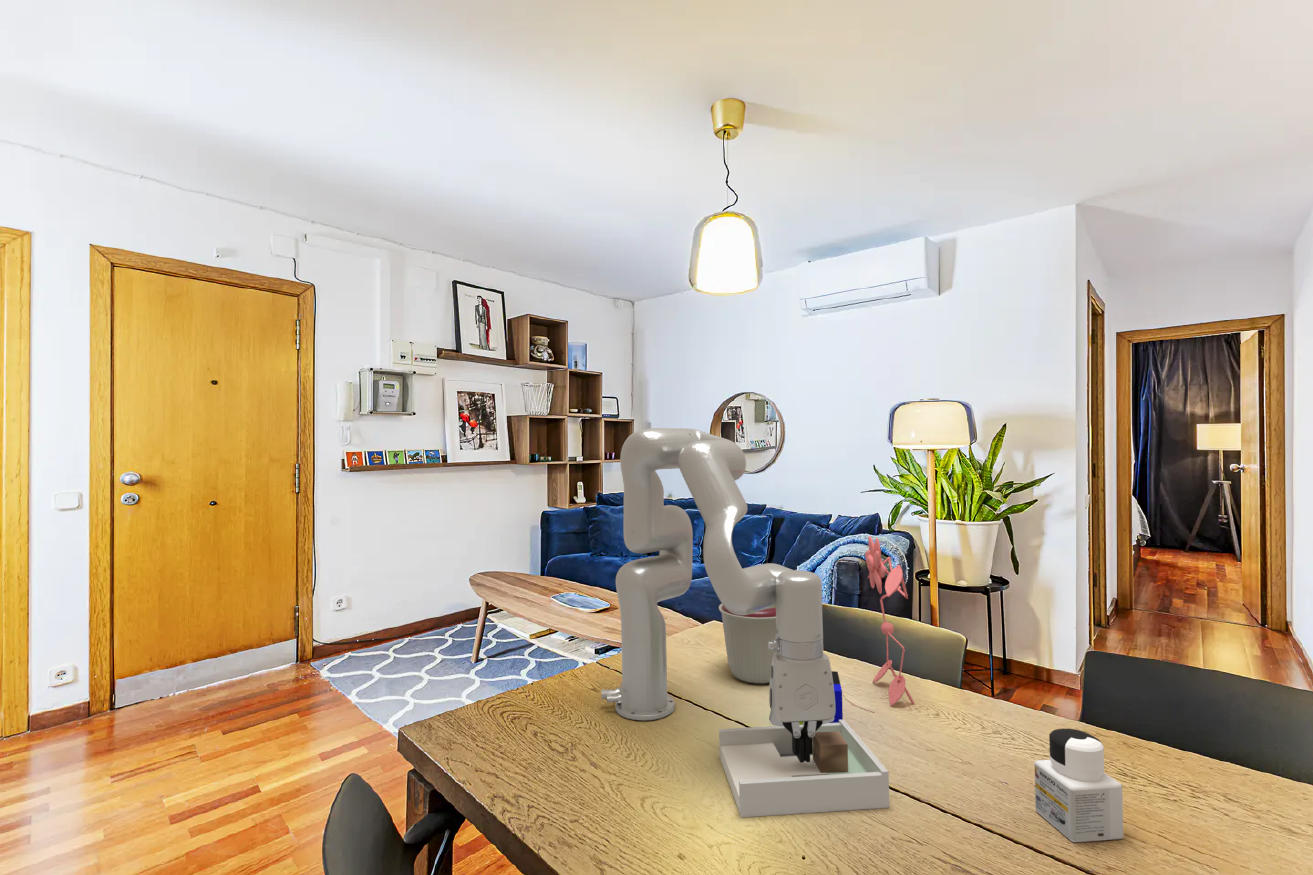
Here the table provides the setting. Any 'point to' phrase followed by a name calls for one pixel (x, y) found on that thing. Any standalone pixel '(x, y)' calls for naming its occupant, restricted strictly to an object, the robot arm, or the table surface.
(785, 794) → the tray
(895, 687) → the figurine
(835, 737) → the walnut block
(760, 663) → the canister
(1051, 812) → the container
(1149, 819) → the table surface
